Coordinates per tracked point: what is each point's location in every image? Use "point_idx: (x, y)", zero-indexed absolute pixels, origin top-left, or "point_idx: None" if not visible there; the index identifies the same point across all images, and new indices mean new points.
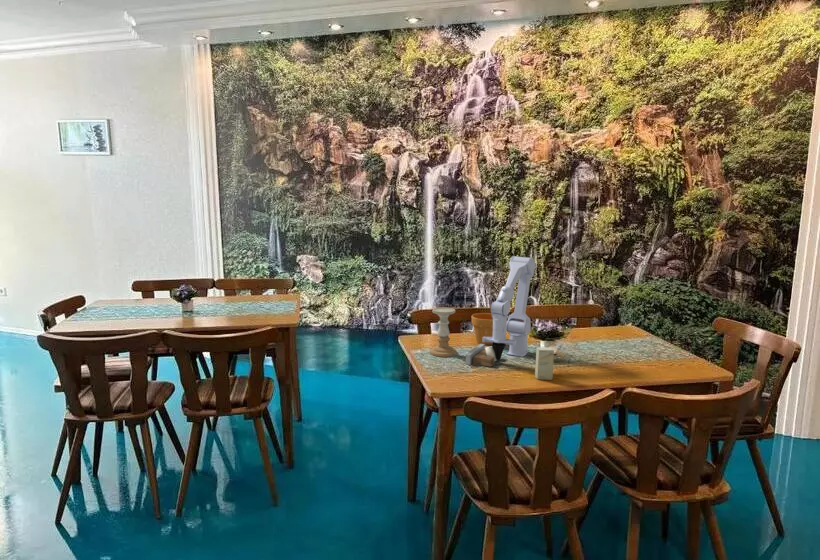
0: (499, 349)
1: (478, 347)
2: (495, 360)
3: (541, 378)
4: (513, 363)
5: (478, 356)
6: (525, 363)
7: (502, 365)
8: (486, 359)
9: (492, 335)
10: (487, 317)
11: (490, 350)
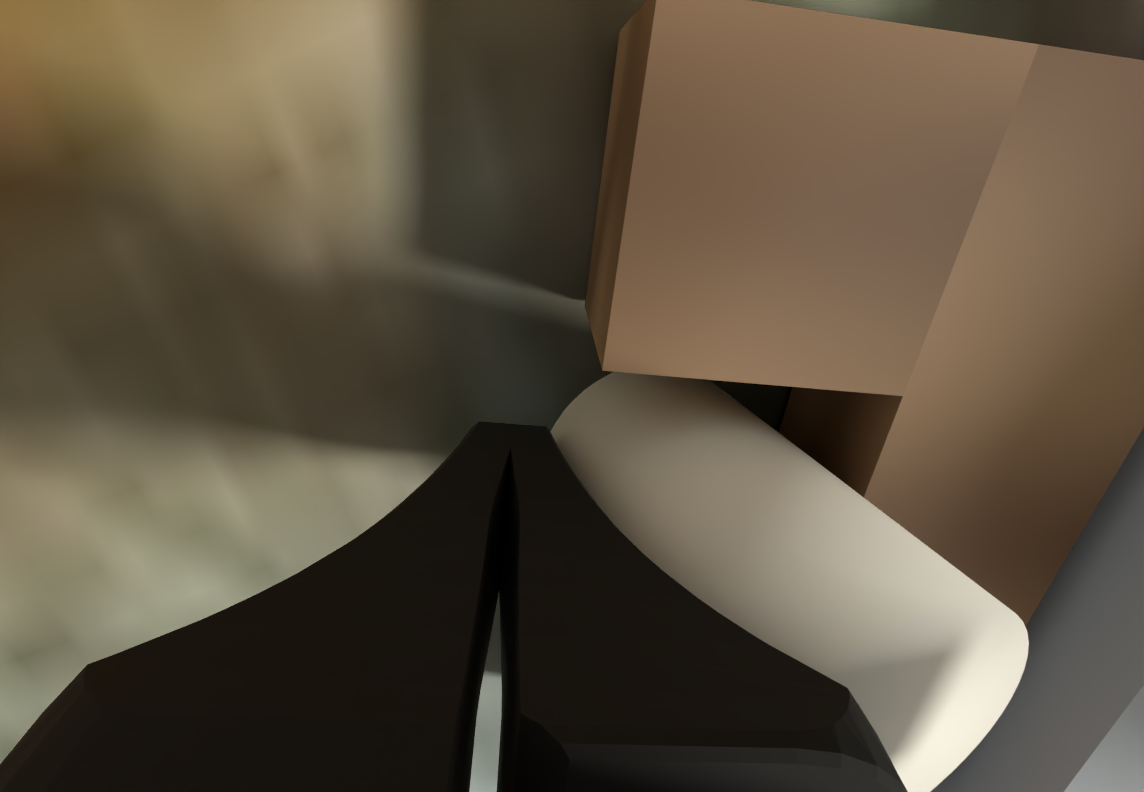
0: (375, 605)
1: (1106, 787)
2: (570, 414)
3: None
4: (214, 514)
5: (1116, 254)
6: (7, 594)
7: (374, 302)
8: (834, 16)
9: None
10: None
11: (808, 561)
